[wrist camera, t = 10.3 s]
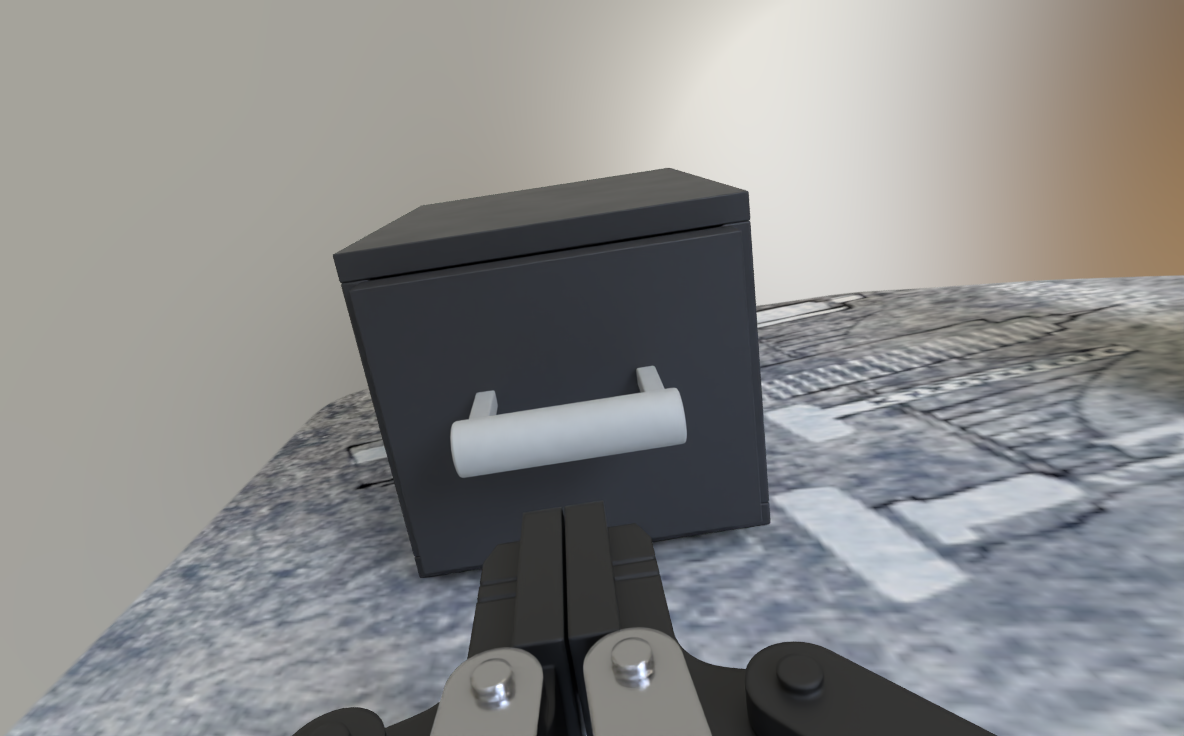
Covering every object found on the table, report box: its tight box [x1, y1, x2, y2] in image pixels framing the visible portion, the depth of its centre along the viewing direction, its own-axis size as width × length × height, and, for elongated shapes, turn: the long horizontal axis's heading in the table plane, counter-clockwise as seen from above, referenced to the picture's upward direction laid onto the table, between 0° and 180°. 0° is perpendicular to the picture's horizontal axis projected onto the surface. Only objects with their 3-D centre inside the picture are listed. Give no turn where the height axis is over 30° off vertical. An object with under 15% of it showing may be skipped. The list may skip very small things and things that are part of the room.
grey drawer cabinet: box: [333, 168, 770, 578], centre depth 30 cm, size 15×13×12 cm
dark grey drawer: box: [349, 225, 762, 574], centre depth 26 cm, size 18×12×10 cm, turn 3°
